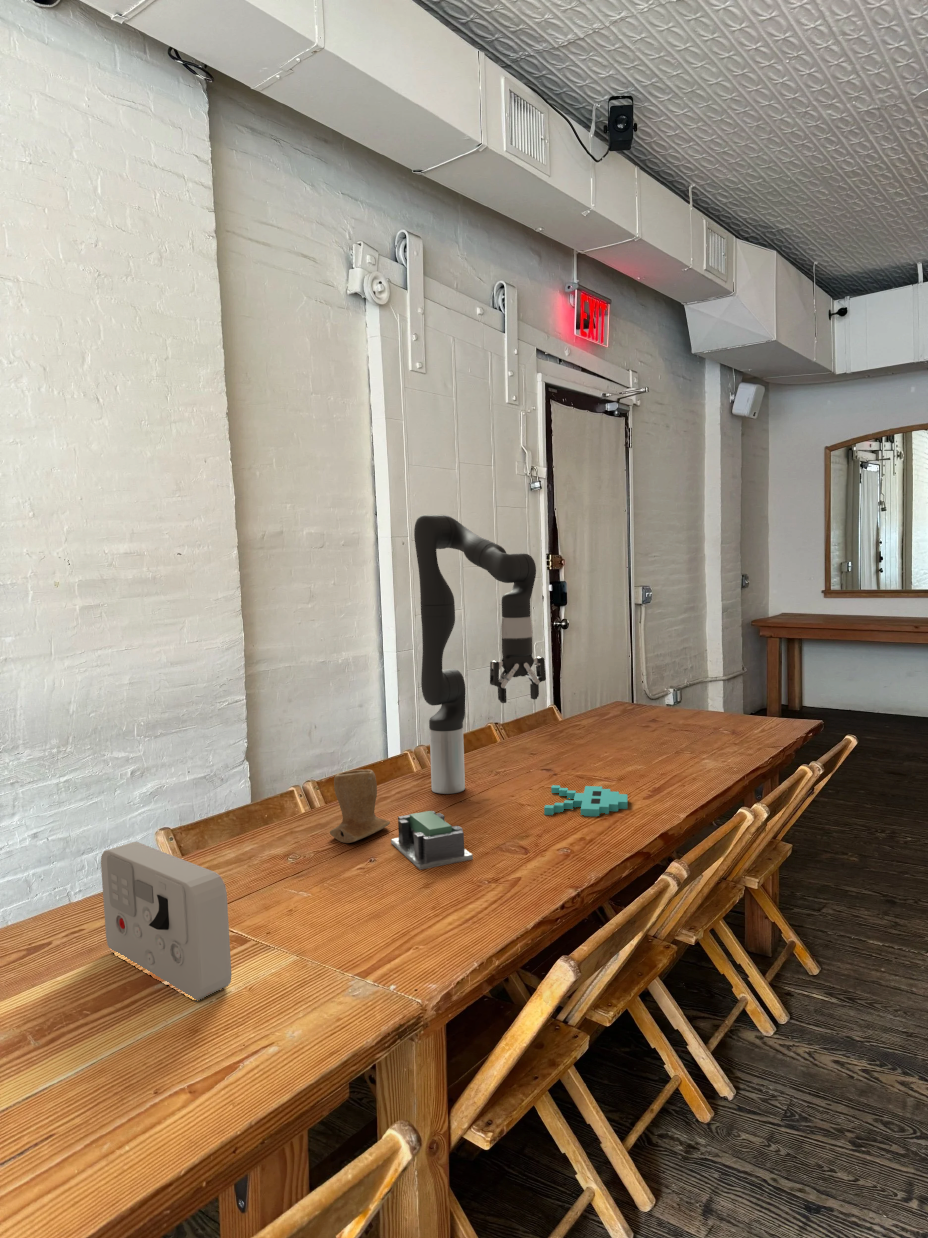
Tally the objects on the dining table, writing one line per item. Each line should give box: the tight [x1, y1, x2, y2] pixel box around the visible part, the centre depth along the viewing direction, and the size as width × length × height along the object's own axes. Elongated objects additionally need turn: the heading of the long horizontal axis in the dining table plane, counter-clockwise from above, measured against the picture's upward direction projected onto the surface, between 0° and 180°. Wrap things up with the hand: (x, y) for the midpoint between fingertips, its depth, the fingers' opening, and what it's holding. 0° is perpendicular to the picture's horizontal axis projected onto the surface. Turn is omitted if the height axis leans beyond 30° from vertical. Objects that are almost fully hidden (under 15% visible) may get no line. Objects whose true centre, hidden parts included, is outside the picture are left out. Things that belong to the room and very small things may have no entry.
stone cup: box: [329, 769, 391, 844], centre depth 195 cm, size 15×12×15 cm
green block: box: [409, 810, 452, 837], centre depth 182 cm, size 12×5×3 cm, turn 24°
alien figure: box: [543, 784, 628, 817], centre depth 213 cm, size 20×2×20 cm
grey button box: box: [100, 841, 232, 1001], centre depth 131 cm, size 29×8×18 cm, turn 50°
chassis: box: [390, 810, 474, 870], centre depth 182 cm, size 18×12×6 cm, turn 24°
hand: (518, 700), depth 205 cm, fingers open, 8 cm apart
